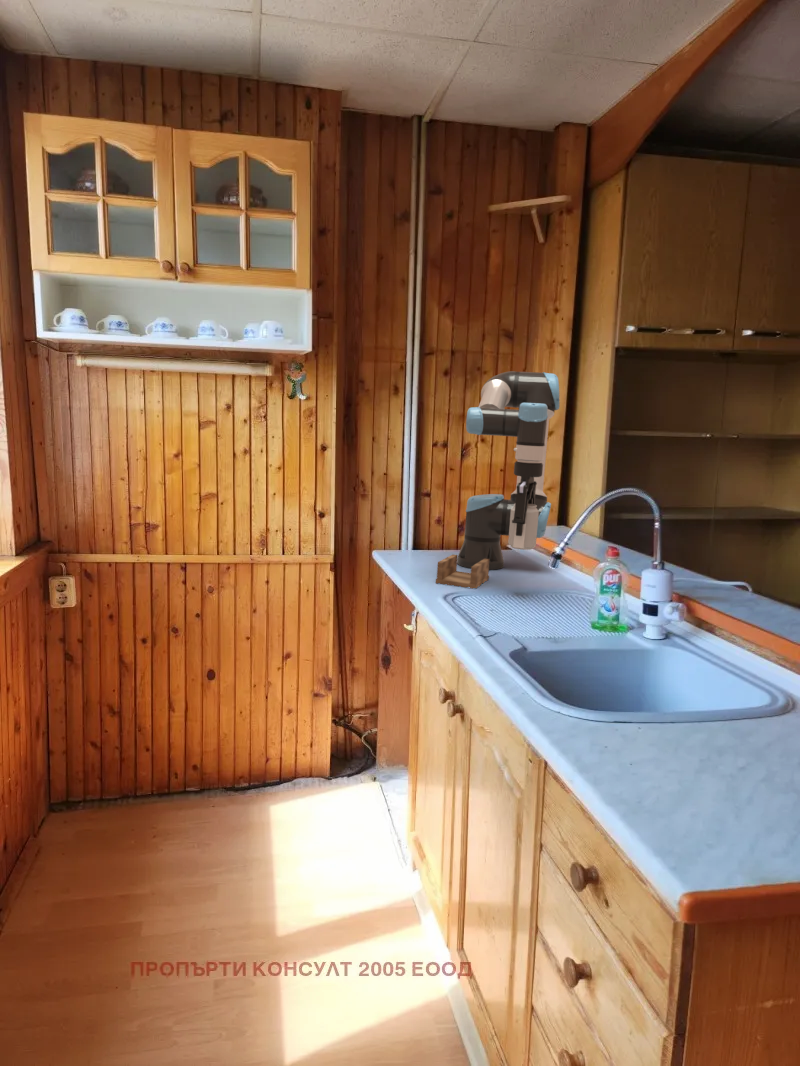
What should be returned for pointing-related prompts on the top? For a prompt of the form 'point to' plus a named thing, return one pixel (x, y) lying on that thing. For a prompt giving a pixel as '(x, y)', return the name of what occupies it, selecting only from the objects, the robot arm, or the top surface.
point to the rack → (462, 573)
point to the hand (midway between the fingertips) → (521, 544)
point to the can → (530, 528)
